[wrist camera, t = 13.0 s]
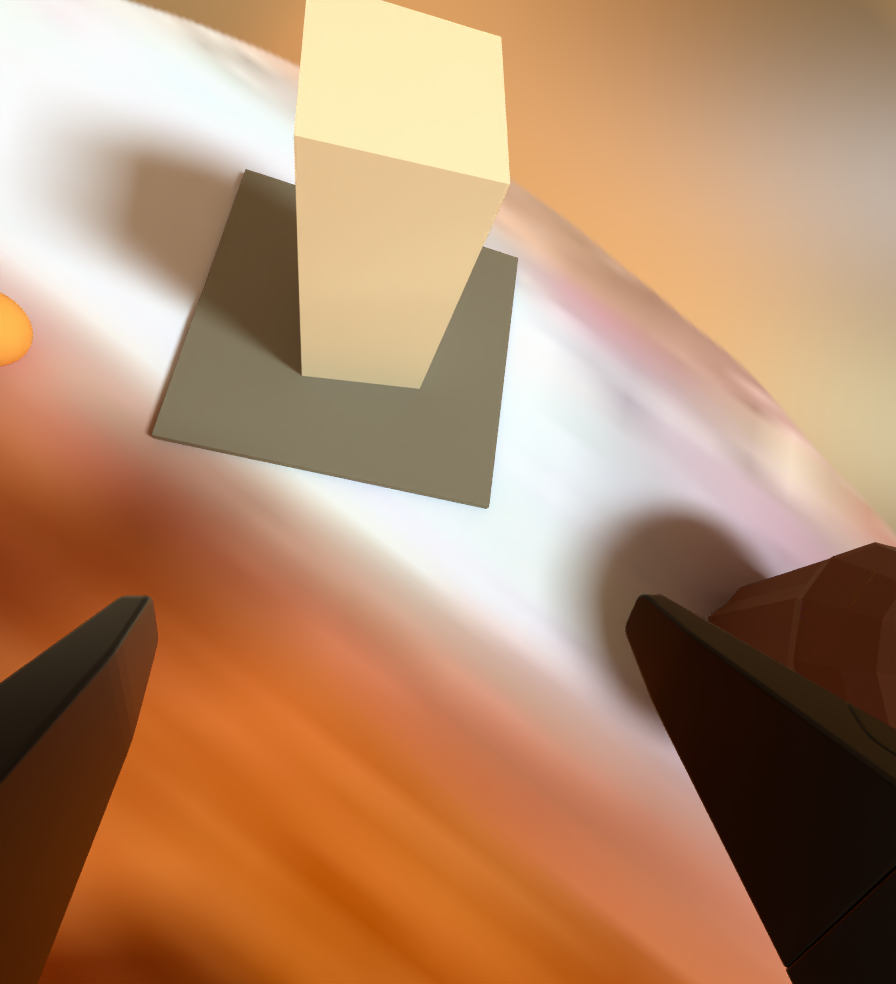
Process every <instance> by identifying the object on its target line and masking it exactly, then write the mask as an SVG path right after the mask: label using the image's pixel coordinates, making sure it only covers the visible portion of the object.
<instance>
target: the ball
mask: <svg viewBox="0 0 896 984" xmlns="http://www.w3.org/2000/svg"><path fill="white" fill-rule="evenodd" d="M32 339H33V331H32V325H31V323H30V320H29V318H28V316H27V315H26V313H25V312H24V311H23V309H22V308H21V307H20V306H19V305H18V304H17V303H16V302H15V301H13V300H12V299H10V298H9V297H8V296H6V295H4V294H2V293H0V366H4V365H8V364H11V363H13V362H16V361H17V360H19V359H20V358H22V357H23V356H24V355H25V354H26V353H27V351H28V350H29V348H30V346H31V344H32Z"/></svg>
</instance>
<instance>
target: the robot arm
mask: <svg viewBox="0 0 896 984" xmlns="http://www.w3.org/2000/svg"><path fill="white" fill-rule="evenodd" d="M625 631H626V636H627V639H628V641H629V644H630V646H631V649H632V651H633V654H634V657H635V659H636V662H637V664H638V667H639V669H640V672H641V675H642V677H643V680H644V682H645V685H646V687H647V690H648V693H649V695H650V697H651V700H652V702H653V704H654V707H655V709H656V711H657V713H658V715H659V717H660V719H661V721H662V723H663V725H664V727H665V729H666V731H667V733H668V735H669V737H670V739H671V741H672V743H673V745H674V747H675V749H676V751H677V753H678V755H679V757H680V759H681V761H682V763H683V765H684V767H685V769H686V771H687V773H688V775H689V777H690V779H691V781H692V783H693V785H694V787H695V789H696V791H697V793H698V795H699V797H700V799H701V801H702V803H703V805H704V807H705V809H706V811H707V813H708V815H709V817H710V819H711V821H712V823H713V825H714V827H715V829H716V831H717V833H718V835H719V837H720V839H721V841H722V843H723V845H724V847H725V849H726V851H727V853H728V855H729V857H730V859H731V861H732V863H733V865H734V867H735V869H736V871H737V873H738V875H739V877H740V879H741V881H742V883H743V885H744V887H745V889H746V891H747V893H748V895H749V897H750V899H751V901H752V903H753V905H754V907H755V909H756V911H757V913H758V915H759V917H760V919H761V921H762V923H763V925H764V927H765V929H766V931H767V933H768V935H769V937H770V939H771V941H772V943H773V945H774V947H775V949H776V951H777V953H778V955H779V957H780V959H781V961H782V963H783V965H784V966H785V967H787V968H786V972H787V974H788V976H789V978H790V980H791V982H792V984H896V729H894V728H892V727H891V726H889V725H887V724H885V723H884V722H882V721H880V720H878V719H876V718H875V717H873V716H871V715H869V714H868V713H866V712H864V711H862V710H861V709H859V708H857V707H856V706H854V705H852V704H850V703H846V702H845V701H844V700H843V699H842V698H840V697H838V696H836V695H835V694H833V693H831V692H829V691H828V690H826V689H824V688H822V687H821V686H819V685H817V684H816V683H814V682H812V681H810V680H809V679H807V678H805V677H803V676H802V675H800V674H798V673H796V672H795V671H793V670H791V669H790V668H788V667H786V666H784V665H783V664H781V663H779V662H777V661H776V660H774V659H772V658H770V657H769V656H767V655H765V654H764V653H762V652H760V651H758V650H757V649H755V648H753V647H751V646H750V645H748V644H746V643H744V642H743V641H741V640H739V639H738V638H736V637H734V636H732V635H731V634H729V633H727V632H725V631H724V630H722V629H720V628H718V627H717V626H715V625H713V624H712V623H710V622H708V621H706V620H705V619H703V618H701V617H699V616H698V615H696V614H694V613H692V612H691V611H689V610H687V609H686V608H684V607H682V606H680V605H679V604H677V603H675V602H673V601H672V600H670V599H668V598H667V597H665V596H663V595H661V594H657V593H644V594H640V595H639V596H638V597H637V599H636V601H635V603H634V605H633V607H632V610H631V612H630V614H629V617H628V619H627V621H626V625H625ZM157 641H158V632H157V625H156V617H155V610H154V603H153V600H152V598H151V597H149V596H122V597H120V598H118V599H116V600H115V601H114V602H112V603H111V604H109V605H108V606H107V607H105V608H104V609H103V610H101V611H100V612H98V613H97V614H96V615H94V616H93V617H91V618H90V619H89V620H87V621H86V622H84V623H83V624H82V625H80V626H79V627H77V628H76V629H75V630H73V631H72V632H70V633H69V634H68V635H66V636H65V637H63V638H62V639H61V640H59V641H58V642H57V643H55V644H54V645H52V646H51V647H50V648H48V649H47V650H45V651H44V652H43V653H41V654H40V655H38V656H37V657H36V658H34V659H33V660H31V661H30V662H29V663H27V664H26V665H24V666H23V667H22V668H20V669H19V670H17V671H16V672H15V673H13V674H12V675H11V676H9V677H8V678H6V679H5V680H4V681H2V682H1V683H0V984H38V981H39V979H40V976H41V974H42V971H43V968H44V966H45V963H46V961H47V958H48V956H49V953H50V950H51V948H52V945H53V943H54V940H55V938H56V935H57V933H58V930H59V927H60V925H61V922H62V920H63V917H64V915H65V912H66V909H67V907H68V904H69V902H70V899H71V897H72V894H73V892H74V889H75V886H76V884H77V881H78V879H79V876H80V874H81V871H82V868H83V866H84V863H85V861H86V858H87V856H88V853H89V851H90V848H91V845H92V843H93V840H94V838H95V835H96V833H97V830H98V827H99V825H100V822H101V820H102V817H103V815H104V812H105V810H106V807H107V804H108V802H109V799H110V797H111V794H112V792H113V789H114V786H115V784H116V781H117V779H118V776H119V774H120V771H121V769H122V766H123V763H124V761H125V758H126V756H127V753H128V750H129V747H130V745H131V742H132V739H133V735H134V732H135V728H136V725H137V721H138V717H139V713H140V710H141V706H142V702H143V698H144V694H145V690H146V687H147V683H148V679H149V675H150V671H151V667H152V664H153V660H154V656H155V652H156V648H157Z"/></svg>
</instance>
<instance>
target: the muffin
mask: <svg viewBox="0 0 896 984" xmlns="http://www.w3.org/2000/svg"><path fill="white" fill-rule="evenodd" d="M708 622H710V623H712V624H713V625H715V626H717V627H718V628H720V629H722V630H724V631H725V632H727V633H729V634H731V635H732V636H734V637H736V638H738V639H739V640H741V641H743V642H744V643H746V644H748V645H750V646H751V647H753V648H755V649H757V650H758V651H760V652H762V653H764V654H765V655H767V656H769V657H770V658H772V659H774V660H776V661H777V662H779V663H781V664H783V665H784V666H786V667H788V668H790V669H791V670H793V671H795V672H796V673H798V674H800V675H802V676H803V677H805V678H807V679H809V680H810V681H812V682H814V683H816V684H817V685H819V686H821V687H822V688H824V689H826V690H828V691H829V692H831V693H833V694H835V695H836V696H838V697H840V698H842V699H843V700H844V701H845V702H846V703H850V704H852V705H854V706H856V707H857V708H859V709H861V710H862V711H864V712H866V713H868V714H869V715H871V716H873V717H875V718H876V719H878V720H880V721H882V722H884V723H885V724H887V725H889V726H891V727H892V728H894V729H896V547H892V546H888V545H884V544H880V543H876V542H874V543H871V544H868V545H865V546H862V547H859V548H857V549H854V550H851V551H848V552H845V553H842V554H839V555H836V556H833V557H831V558H830V559H827V560H824V561H821V562H818V563H815V564H812V565H809V566H806V567H802V568H799V569H796V570H793V571H790V572H787V573H784V574H781V575H778V576H775V577H772V578H769V579H766V580H763V581H760V582H756V583H753V584H750V585H747V586H744V587H741V588H740V589H739V590H738V591H737V592H736V593H735V594H734V596H733V597H732V598H731V599H730V600H729V601H728V603H727V604H726V605H724V606H723V607H721V608H720V609H719V610H717V611H716V612H714V613H713V614H712V615H710V616H709V621H708Z"/></svg>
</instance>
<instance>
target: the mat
mask: <svg viewBox="0 0 896 984" xmlns="http://www.w3.org/2000/svg"><path fill="white" fill-rule="evenodd" d="M517 263H518V258H517V257H513V256H510V255H507V254H504V253H501V252H498V251H495V250H492V249H489V248H486V247H482V249H481V251H480V254H479V256H478V258H477V260H476V263H475V265H474V267H473V269H472V272H471V274H470V276H469V278H468V281H467V283H466V285H465V287H464V290H463V292H462V294H461V296H460V299H459V301H458V303H457V305H456V308H455V310H454V312H453V315H452V317H451V319H450V321H449V324H448V326H447V328H446V330H445V333H444V335H443V337H442V339H441V342H440V344H439V346H438V348H437V351H436V353H435V355H434V357H433V360H432V362H431V364H430V366H429V369H428V371H427V373H426V376H425V378H424V380H423V382H422V385H421V387H420V389H417V388H408V387H399V386H390V385H381V384H372V383H363V382H354V381H345V380H336V379H327V378H318V377H309V376H302V364H301V334H300V304H299V274H298V243H297V213H296V185H293V184H290V183H287V182H284V181H281V180H278V179H275V178H272V177H268V176H265V175H262V174H259V173H256V172H253V171H250V170H247V169H246V170H245V173H244V176H243V178H242V181H241V184H240V187H239V190H238V193H237V195H236V198H235V201H234V204H233V207H232V209H231V212H230V215H229V218H228V221H227V224H226V226H225V229H224V232H223V235H222V238H221V241H220V243H219V246H218V249H217V252H216V255H215V257H214V260H213V263H212V266H211V269H210V272H209V274H208V277H207V280H206V283H205V286H204V288H203V291H202V294H201V297H200V300H199V303H198V305H197V308H196V311H195V314H194V317H193V319H192V322H191V325H190V328H189V331H188V334H187V336H186V339H185V342H184V345H183V348H182V350H181V353H180V356H179V359H178V362H177V365H176V367H175V370H174V373H173V376H172V379H171V381H170V384H169V387H168V390H167V393H166V396H165V398H164V401H163V404H162V407H161V410H160V413H159V415H158V418H157V421H156V424H155V427H154V429H153V432H152V436H153V437H154V438H155V439H160V440H165V441H169V442H174V443H179V444H183V445H188V446H193V447H198V448H202V449H207V450H212V451H216V452H221V453H226V454H231V455H235V456H240V457H245V458H249V459H254V460H259V461H264V462H268V463H273V464H278V465H282V466H287V467H292V468H297V469H301V470H306V471H311V472H316V473H320V474H325V475H330V476H334V477H339V478H344V479H349V480H353V481H358V482H363V483H367V484H372V485H377V486H382V487H386V488H391V489H396V490H400V491H405V492H410V493H415V494H419V495H424V496H429V497H433V498H438V499H443V500H448V501H452V502H457V503H462V504H467V505H471V506H476V507H481V508H485V509H487V508H488V507H489V503H490V494H491V486H492V477H493V469H494V460H495V451H496V443H497V434H498V426H499V417H500V409H501V400H502V392H503V383H504V374H505V366H506V357H507V349H508V340H509V332H510V323H511V314H512V306H513V297H514V289H515V280H516V272H517Z"/></svg>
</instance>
